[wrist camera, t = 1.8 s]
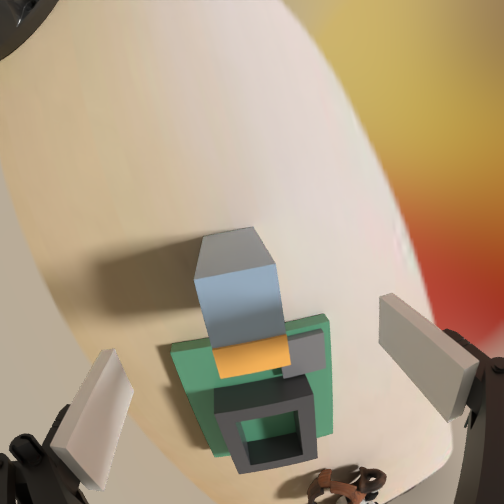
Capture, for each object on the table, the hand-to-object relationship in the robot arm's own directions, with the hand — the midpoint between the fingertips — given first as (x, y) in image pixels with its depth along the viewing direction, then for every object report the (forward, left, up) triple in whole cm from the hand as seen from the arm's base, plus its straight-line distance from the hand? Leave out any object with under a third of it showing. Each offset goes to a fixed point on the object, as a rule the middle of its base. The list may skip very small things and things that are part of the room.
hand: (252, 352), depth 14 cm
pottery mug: (+36, +9, -12) cm, 39 cm away
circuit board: (+14, 0, -12) cm, 18 cm away
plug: (0, 0, -12) cm, 12 cm away
